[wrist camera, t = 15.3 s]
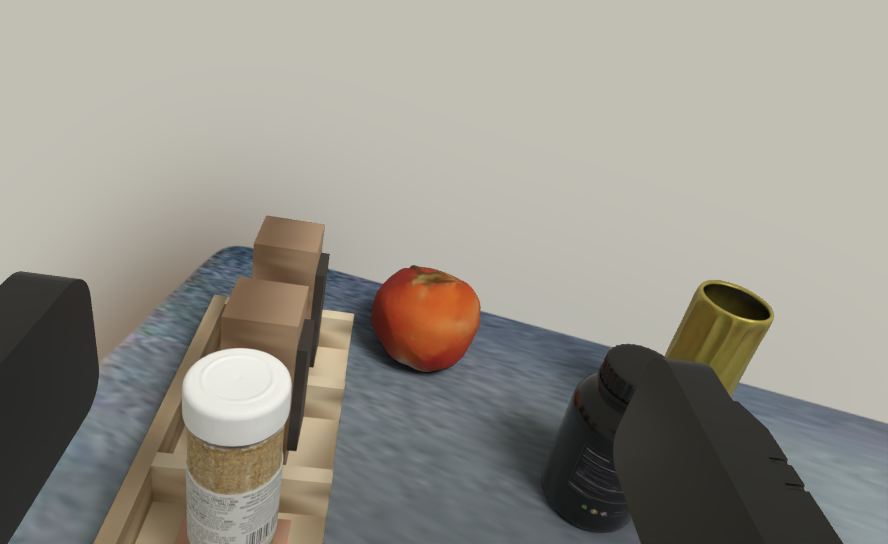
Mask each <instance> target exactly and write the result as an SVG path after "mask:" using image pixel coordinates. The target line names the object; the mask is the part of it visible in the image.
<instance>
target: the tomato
mask: <svg viewBox="0 0 888 544" xmlns="http://www.w3.org/2000/svg"><path fill="white" fill-rule="evenodd" d="M371 322H372V325H373V328H374V331H375V333H376V335H377V337H378V339H379V340H380V342H381V343H382V345H383V346H384V348H385V350H386V351H387V352H388V353H389V355H390V356H391V357H392V358H393V359H395V360H397V361H399V362H400V363H402V364H406V365H408V366H411V367H412V368H413V369H416V370H419V371H422V372H431V371H436V370H440V369H446V368H448V367H451V366H453V365H454V364H456V363H457V362H458V361H459V360H460V359H461V358H462V356H463V355H464V354H465V352H466V351H467V349H468V347H469V346H470V344H471V343H472V340H473V338H474V336H475V334H476V332H477V330H478V328H479V325H480V302H479V299H478V297H477V295H476V293H475V292H474V290H473V289H472V288H471V287H470V286H469V285H468V284H467V283H466V282H464V281H461V280H459V279H458V278H456V277H454V276H452V275H450V274H448V273H444V272H442V271H439V270H435V269H431V268H425V267H418V266H415V265H413V266H411V267H410V268H403V269H401V270H399V271H398V272H396V273H395V274H394V275H392V276H391V277H390V278H389V279H388V280H387V281H386V282H385V283H384V284H383V285H382V286H381V287H380V289H379V290H378V292H377V294H376V296H375V300H374V304H373V307H372V315H371Z"/></svg>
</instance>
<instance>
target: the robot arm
mask: <svg viewBox="0 0 888 544" xmlns="http://www.w3.org/2000/svg"><path fill="white" fill-rule="evenodd" d="M98 379H99V364H98V356H97V347H96V338H95V330H94V321H93V313H92V304H91V297H90V291H89V288H88V285H87V283H86V282H85V281H84V280H81V279H75V278H67V277H60V276H52V275H44V274H37V273H29V272H21V271H20V272H16V273H14V274H12V275H11V276H10V277H8V278H7V279H6V280H5V281H4V282H3V283H2V284H1V285H0V544H8V542H9V541H10V539H11V537H12V536H13V534H14V532H15V531H16V529H17V528H18V526H19V524H20V523H21V521H22V520H23V518H24V516H25V515H26V513H27V511H28V510H29V508H30V507H31V505H32V503H33V502H34V500H35V498H36V497H37V495H38V494H39V492H40V490H41V489H42V487H43V486H44V484H45V482H46V481H47V479H48V477H49V476H50V474H51V473H52V471H53V469H54V468H55V466H56V464H57V463H58V461H59V460H60V458H61V456H62V455H63V453H64V452H65V450H66V448H67V447H68V445H69V443H70V442H71V440H72V439H73V437H74V435H75V434H76V432H77V430H78V429H79V427H80V426H81V424H82V422H83V421H84V419H85V418H86V416H87V414H88V412H89V410H90V408H91V406H92V403H93V401H94V398H95V394H96V390H97V386H98ZM613 458H614V465H615V470H616V473H617V476H618V479H619V482H620V485H621V487H622V490H623V493H624V496H625V499H626V502H627V505H628V507H629V510H630V513H631V516H632V519H633V522H634V525H635V528H636V530H637V533H638V536H639V539H640V542H641V544H843V543H842V541H841V540H840V538H839V537H838V535H837V534H836V532H835V530H834V529H833V527H832V526H831V524H830V523H829V521H828V520H827V518H826V517H825V515H824V514H823V512H822V511H821V509H820V508H819V506H818V505H817V503H816V502H815V500H814V499H813V497H812V496H811V494H810V492H807V491H805V490H804V483H803V482H802V480H801V479H800V477H799V476H798V474H797V473H796V471H795V470H794V468H793V467H792V466H791V465H788V464H787V460H788V459H787V458H786V456H785V454H784V453H783V451H782V450H781V448H780V447H779V445H778V444H777V442H776V441H775V439H774V438H773V436H772V435H771V433H770V432H769V430H768V429H767V428H766V427H765V426H764V425H763V424H762V423H761V422H760V421H758V420H757V419H756V418H755V417H754V416H753V415H752V414H751V413H750V412H749V411H748V410H747V409H745V408H744V407H743V406H742V405H741V404H740V403H739V402H737V401H733V400H732V399H731V397H730V395H729V394H728V392H727V391H726V389H725V387H724V386H723V384H722V383H721V381H720V379H719V378H718V376H717V375H716V373H715V372H714V370H713V369H712V368H711V367H710V366H709V365H707V364H704V363H697V362H690V361H682V360H674V359H667V358H659V357H658V358H655V359H653V360H652V361H650V362H649V364H648V365H647V367H646V369H645V371H644V373H643V375H642V377H641V379H640V381H639V383H638V385H637V388H636V390H635V392H634V394H633V396H632V398H631V400H630V402H629V405H628V407H627V409H626V411H625V413H624V415H623V417H622V419H621V422H620V424H619V426H618V428H617V431H616V434H615V438H614V446H613Z"/></svg>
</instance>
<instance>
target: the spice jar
mask: <svg viewBox="0 0 888 544" xmlns="http://www.w3.org/2000/svg"><path fill="white" fill-rule="evenodd" d="M291 387H292V383H291V377H290V374H289V371H288V370H287V368H286V367H285V365H284V364H283V363H282V362H281V361H280V360H278V359H277V358H275V357H274V356H272V355H270V354H268V353H265V352H262V351H259V350H254V349H247V348H233V349H226V350H221V351H217V352H214V353H211V354H209V355H207V356H205V357H203V358H202V359H200V360H199V361H197V362H196V363H195V364H194V365H193V366H192V367H191V368H190V369H189V370H188V372H187V373H186V375H185V377H184V380H183V384H182V416H183V420H184V423H185V427H186V429H187V460H186V502H187V535H188V539H189V544H273V542H274V533H275V531H276V527H277V518H278V510H279V500H280V489H281V478H282V468H283V438H284V427H285V423H286V421H287V418H288V416H289V411H290V403H291Z"/></svg>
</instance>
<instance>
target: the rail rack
mask: <svg viewBox="0 0 888 544" xmlns="http://www.w3.org/2000/svg"><path fill="white" fill-rule="evenodd" d="M324 226H325V225H324V224H317V223H311V222H304V221H298V220H292V219H285V218H279V217H272V216H266V218H265V220H264V222H263V224H262V227H261V229H260V231H259V233H258V236H257V238H256V240H255V242H254V252H253V271H252V278H246V277H239V278H238V280H237V283H236V285H235V287H234V289H233V291H232V294H231V296H230V297H227V296H219V295H214V297H213V299H212V301H211V303H210V305H209V307H208V309H207V311H206V313H205V315H204V317H203V319H202V322H201V324H200V326H199V328H198V330H197V332H196V334H195V336H194V338H193V340H192V342H191V344H190V346H189V348H188V350H187V352H186V354H185V356H184V358H183V361H182V363H181V365H180V367H179V369H178V371H177V373H176V375H175V377H174V379H173V381H172V383H171V385H170V387H169V389H168V391H167V393H166V395H165V397H164V400H163V402H162V404H161V406H160V408H159V410H158V412H157V414H156V416H155V418H154V420H153V422H152V424H151V426H150V428H149V430H148V432H147V434H146V436H145V438H144V441H143V443H142V445H141V447H140V449H139V451H138V453H137V455H136V457H135V459H134V461H133V463H132V465H131V467H130V469H129V471H128V473H127V475H126V477H125V480H124V482H123V484H122V486H121V488H120V490H119V492H118V494H117V496H116V498H115V500H114V502H113V504H112V506H111V508H110V510H109V512H108V514H107V516H106V518H105V521H104V523H103V525H102V527H101V529H100V531H99V533H98V535H97V537H96V539H95V541H94V543H93V544H189V539H188V535H187V502H186V460H187V429H186V427H185V423H184V420H183V416H182V384H183V380H184V377H185V375H186V373H187V372H188V370H189V369H190V368H191V367H192V366H193V365H194V364H195V363H196V362H197V361H199V360H200V359H202V358H203V357H205V356H207V355H209V354H211V353H214V352H217V351H221V350H226V349H233V348H247V349H254V350H259V351H262V352H265V353H268V354H270V355H272V356H274V357H275V358H277V359H278V360H280V361H281V362H282V363H283V364H284V365H285V367H286V368H287V370H288V371H289V374H290V377H291V383H292V387H291V403H290V411H289V416H288V418H287V421H286V423H285V427H284V438H283V468H282V478H281V489H280V500H279V510H278V518H277V527H276V531H275V533H274V542H273V544H323V538H324V530H325V523H326V516H327V510H328V503H329V497H330V491H331V485H332V477H333V463H334V456H335V448H336V441H337V433H338V426H339V419H340V413H341V406H342V400H343V394H344V387H345V374H346V366H347V359H348V351H349V345H350V339H351V332H352V326H353V319H354V314H351V313H344V312H336V311H329V310H323V303H324V295H325V287H326V279H327V271H328V262H329V255H330V254H326V253H322V244H323V236H324Z"/></svg>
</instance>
